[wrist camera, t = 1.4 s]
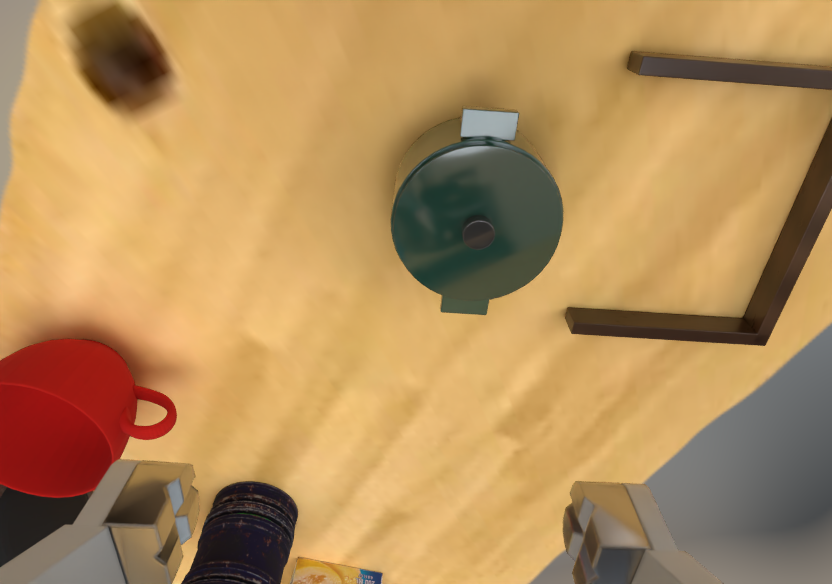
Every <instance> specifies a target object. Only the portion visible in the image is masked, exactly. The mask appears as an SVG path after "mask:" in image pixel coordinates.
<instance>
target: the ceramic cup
mask: <svg viewBox="0 0 832 584" xmlns="http://www.w3.org/2000/svg"><path fill="white" fill-rule="evenodd" d="M137 399H140V400H145V401H149V402H152V403H155V404H158V405H160V406H162V407H164V408H165V409H166V410H167V412H168V413H167V416H166V417H165V418H164V419H163V420H162V421H161V422H159V423H157V424H154V425H151V426H137V425H134V423H135V419H136V412H137ZM176 418H177V413H176V408H175V406H174V404H173V402H172V401H171V400H170V399H169V398H168V397H167V396H166V395H164V394H162V393H160V392H157V391H154V390H151V389H148V388H144V387H139V386H135V382H134V380H133V377H132V375H131V373H130V371H129V369H128V367H127V364H126V362H125V361H124V359H123V358H122V357H121V356H120V355H119V354H118V353H117V352H116V351H115V350H113V349H112V348H110V347H108V346H107V345H105V344H102V343H100V342H96V341H92V340H84V339H82V340H78V339H59V340H50V341H45V342H41V343H37V344H34V345H31V346H28V347H25V348H23V349H21V350H19V351H17V352H15V353H13V354H11V355H9V356H7V357H6V358H4V359H2V360H1V361H0V484H2V485H4V486H6V487H9V488H11V489H14V490H17V491H20V492H24V493H27V494H32V495H37V496H42V497H54V498H61V497H73V496H78V495H82V494H85V493H88V492H90V491H93V490H95V489H96V487H97V486H98V484H99V483H100V481H101V479H102V478H103V476H104V475H105V473H106V472H107V470H108V469H109V467H110V465H111V464H113V463H114V462H115V461H116V460H118V459H120V457H121V455H122V453H123V451H124V449H125V447H126V444H127V442H128V439H129V437H130V436H131V437H134V438H137V439H142V440H151V439H156V438H159V437H161V436H163V435H165V434H167V433H168V432H169V431H170V430H171V429H172V428H173V426H174V425H175V423H176Z"/></svg>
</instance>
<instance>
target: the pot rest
mask: <svg viewBox="0 0 832 584" xmlns="http://www.w3.org/2000/svg"><path fill="white" fill-rule="evenodd" d="M627 69H628V70H630V71H632V72H634V73H636V74H638V75H645V76H658V77H671V78H684V79H697V80H710V81H723V82H736V83H749V84H762V85H775V86H789V87H802V88H815V89H828V90H832V67H830V66H817V65H804V64H791V63H778V62H765V61H753V60H740V59H727V58H714V57H701V56H688V55H675V54H663V53H650V52H637V51H632V52H631V55H630V59H629V63H628V67H627ZM831 209H832V120H831V122H830V124H829V127H828V129H827V131H826V133H825V136H824V138H823V140H822V142H821V145H820V147H819V149H818V151H817V154H816V156H815V158H814V160H813V163H812V165H811V167H810V169H809V172H808V174H807V176H806V178H805V181H804V183H803V185H802V187H801V190H800V192H799V194H798V196H797V199H796V201H795V203H794V205H793V207H792V210H791V212H790V214H789V216H788V219H787V221H786V223H785V225H784V228H783V230H782V232H781V234H780V237H779V239H778V241H777V243H776V246H775V248H774V250H773V252H772V255H771V257H770V259H769V261H768V264H767V266H766V268H765V270H764V273H763V275H762V277H761V279H760V282H759V284H758V286H757V288H756V290H755V293H754V295H753V297H752V299H751V302H750V304H749V306H748V308H747V311H746V313H745V315H744V317H743V319H742V318H726V317H710V316H695V315H679V314H663V313H647V312H632V311H616V310H600V309H584V308H567V312H566V316H565V319H566V322H567V324H568V327H569V329H570V331H571V334H583V335H599V336H615V337H631V338H647V339H664V340H680V341H696V342H712V343H728V344H744V345H760V346H765V345H766V343H767V341H768V339H769V337H770V335H771V333H772V331H773V329H774V327H775V324H776V322H777V320H778V318H779V316H780V314H781V312H782V310H783V308H784V306H785V304H786V302H787V300H788V298H789V296H790V294H791V291H792V289H793V287H794V285H795V283H796V281H797V279H798V277H799V275H800V273H801V271H802V269H803V267H804V265H805V263H806V261H807V258H808V256H809V254H810V252H811V250H812V248H813V246H814V244H815V242H816V240H817V238H818V236H819V234H820V232H821V230H822V228H823V225H824V223H825V221H826V219H827V217H828V215H829V213H830V211H831Z"/></svg>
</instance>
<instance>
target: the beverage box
mask: <svg viewBox="0 0 832 584" xmlns="http://www.w3.org/2000/svg"><path fill="white" fill-rule="evenodd" d="M290 584H382V573H380V572H374V571H369V570H364V569H358V568H353V567H348V566H343V565H337V564H332V563H327V562H322V561H316V560H311V559H306V558H300V557H298V559H297V562H296V565H295V569H294V572H293V575H292V578H291V581H290Z"/></svg>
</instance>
